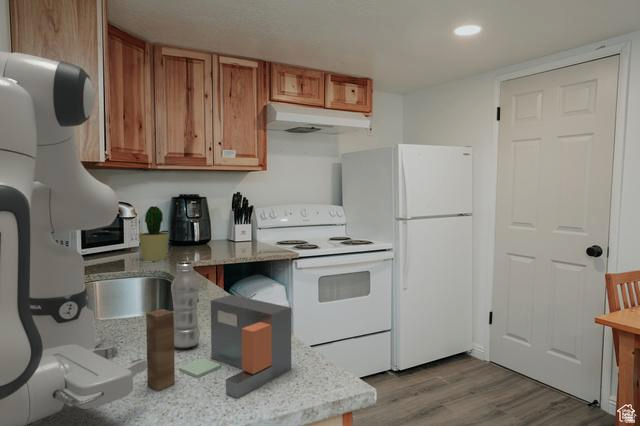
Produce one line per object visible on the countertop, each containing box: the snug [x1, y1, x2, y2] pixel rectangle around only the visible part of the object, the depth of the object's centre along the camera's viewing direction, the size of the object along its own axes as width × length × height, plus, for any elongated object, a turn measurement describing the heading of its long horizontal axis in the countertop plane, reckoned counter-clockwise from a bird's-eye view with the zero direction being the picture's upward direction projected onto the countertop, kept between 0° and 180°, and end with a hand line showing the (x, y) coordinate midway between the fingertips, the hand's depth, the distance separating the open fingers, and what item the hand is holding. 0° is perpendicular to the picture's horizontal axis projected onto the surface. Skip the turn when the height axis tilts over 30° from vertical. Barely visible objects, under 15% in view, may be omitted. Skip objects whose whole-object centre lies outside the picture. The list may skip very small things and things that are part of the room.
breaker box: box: [210, 294, 292, 399], centre depth 84 cm, size 18×15×13 cm
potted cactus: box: [138, 206, 170, 261], centre depth 221 cm, size 15×15×30 cm
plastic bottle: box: [170, 261, 201, 349], centre depth 97 cm, size 6×7×20 cm
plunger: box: [241, 322, 272, 374], centre depth 79 cm, size 3×5×8 cm, turn 144°
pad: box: [178, 357, 222, 379], centre depth 85 cm, size 6×6×1 cm
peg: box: [145, 308, 176, 392], centre depth 78 cm, size 4×4×14 cm
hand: (129, 357), depth 73 cm, fingers open, 8 cm apart
